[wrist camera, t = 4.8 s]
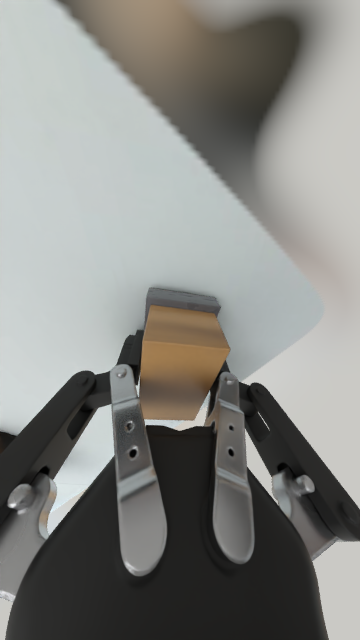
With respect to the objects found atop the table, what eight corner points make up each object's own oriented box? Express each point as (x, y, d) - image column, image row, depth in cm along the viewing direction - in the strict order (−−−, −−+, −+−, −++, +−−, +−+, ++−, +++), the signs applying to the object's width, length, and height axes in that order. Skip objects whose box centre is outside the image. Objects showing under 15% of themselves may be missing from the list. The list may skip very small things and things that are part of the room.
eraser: (149, 287, 11) (135, 331, 7) (215, 297, 12) (241, 343, 7) (143, 368, 16) (133, 422, 12) (189, 371, 16) (196, 423, 12)
